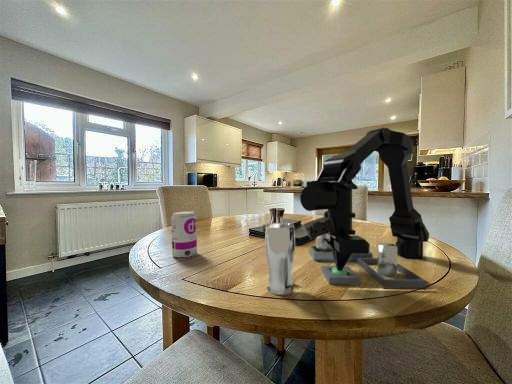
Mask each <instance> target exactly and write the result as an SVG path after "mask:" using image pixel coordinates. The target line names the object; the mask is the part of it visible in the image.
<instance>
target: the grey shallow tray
mask: <svg viewBox="0 0 512 384" xmlns="http://www.w3.org/2000/svg"><path fill="white" fill-rule="evenodd" d="M308 254H309V255H310V256H311V258H312V261H314V262H316V263H317V264H318V263H320V264H321V263H323V264H324V263H329V264H331V263H334V264H335V261H334V257H333V253H332V249H331V247H330V252H316V245H308ZM357 258H373V252H372V251H370V253H368V254H365V253H352V254H351V256H350V257H349V259H348V261H347V263H346V264H348V263H349V264H351V263H353V264H354V263H355V264H357Z"/></svg>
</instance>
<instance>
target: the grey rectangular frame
mask: <svg viewBox="0 0 512 384" xmlns="http://www.w3.org/2000/svg"><path fill="white" fill-rule="evenodd" d="M356 264H357V265H358V266H359V267H360V268H362V269H363V270H364V271H365V272H366V273H367V274H369V275H370V276H371V277H372V278H373V280H375V281H377V282H378V283H379V284H380V285H381V286H382V289H383V290H415V291H416V290H418V291H425V290H427V280H426V279H424V278H423V277H421V276H420V275H417V274H416V273H414V272H412V271H411V270H410V269H408V268H406V267H404V266H403V265H401V264H399V263H398V262H397V272H398V273H401V274H402V275H403V276H406V278H407V279H404V278H402V279H401V278H399V279H398V278H396V279H393V278H386V277H384V276H381V275H380V274H378V273H377V270H375V269H374V268H372V267H371V266H370V265H377V257H372V258H357V263H356Z"/></svg>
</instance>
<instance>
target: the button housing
mask: <svg viewBox="0 0 512 384" xmlns="http://www.w3.org/2000/svg"><path fill="white" fill-rule="evenodd" d="M334 267H336V265H321V273H322V275H323V277H324V278H325V280H326V282H327V283H328V284H329V285H360V283H361V278H360V276H359V275H358V274H356V272H355V271H353V269H352V268H351V267H350V266H349V265H345V266H344V269H346V270H347V275H333V274H332V268H334Z"/></svg>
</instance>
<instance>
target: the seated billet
mask: <svg viewBox="0 0 512 384" xmlns="http://www.w3.org/2000/svg"><path fill="white" fill-rule="evenodd" d="M324 239H327V234H324V235H321V236H318V237H317V238H315V246H316V252H330V245H329V244H328V243H326V242H325V241H324Z"/></svg>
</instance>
